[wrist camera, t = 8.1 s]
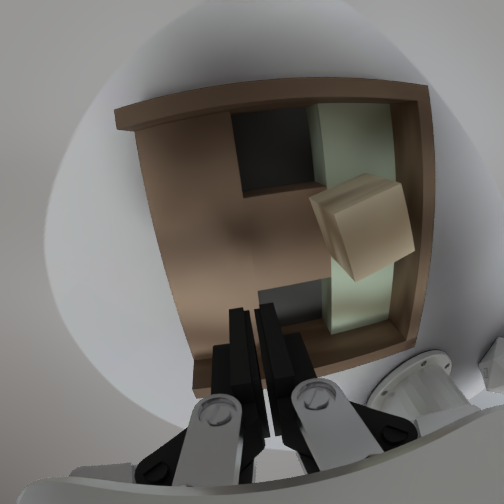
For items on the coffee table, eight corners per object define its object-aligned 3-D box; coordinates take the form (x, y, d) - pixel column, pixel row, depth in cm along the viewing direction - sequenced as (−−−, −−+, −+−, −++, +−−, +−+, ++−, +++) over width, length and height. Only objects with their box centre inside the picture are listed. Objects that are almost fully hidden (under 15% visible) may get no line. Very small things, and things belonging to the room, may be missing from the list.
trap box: (383, 310, 24) (414, 346, 19) (198, 348, 23) (196, 398, 18) (380, 94, 17) (427, 85, 12) (142, 118, 16) (113, 109, 11)
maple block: (380, 228, 18) (415, 250, 14) (329, 254, 18) (355, 282, 14) (365, 172, 16) (401, 183, 13) (308, 197, 17) (334, 214, 13)
